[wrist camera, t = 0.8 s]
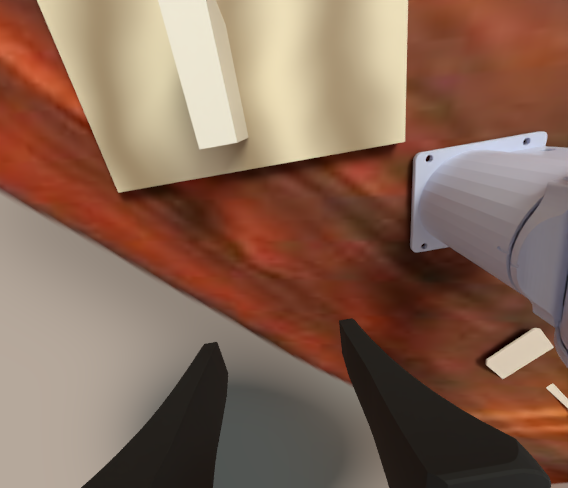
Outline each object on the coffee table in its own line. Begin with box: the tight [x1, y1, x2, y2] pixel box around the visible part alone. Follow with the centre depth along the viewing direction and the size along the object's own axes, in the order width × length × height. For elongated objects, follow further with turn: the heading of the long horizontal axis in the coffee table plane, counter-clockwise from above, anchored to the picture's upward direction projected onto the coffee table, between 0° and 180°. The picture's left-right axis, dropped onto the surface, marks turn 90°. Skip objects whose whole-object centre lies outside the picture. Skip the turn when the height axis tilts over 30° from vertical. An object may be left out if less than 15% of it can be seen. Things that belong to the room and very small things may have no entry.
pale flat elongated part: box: [485, 328, 568, 408], centre depth 32 cm, size 6×29×2 cm, turn 48°
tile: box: [158, 0, 249, 150], centre depth 13 cm, size 2×6×7 cm, turn 10°
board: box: [37, 0, 408, 193], centre depth 16 cm, size 20×14×1 cm
